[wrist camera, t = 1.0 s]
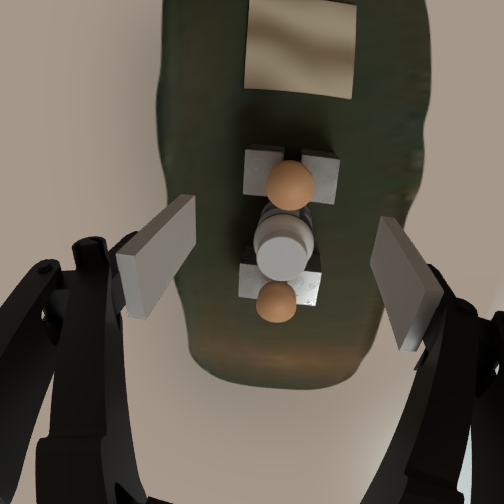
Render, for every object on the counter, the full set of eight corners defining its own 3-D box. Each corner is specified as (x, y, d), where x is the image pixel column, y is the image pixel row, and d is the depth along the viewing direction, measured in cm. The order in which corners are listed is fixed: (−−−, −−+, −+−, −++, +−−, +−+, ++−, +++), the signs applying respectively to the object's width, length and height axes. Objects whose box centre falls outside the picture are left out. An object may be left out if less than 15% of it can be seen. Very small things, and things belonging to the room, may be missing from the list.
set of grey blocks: (251, 143, 28) (245, 149, 25) (334, 152, 28) (340, 159, 24) (244, 276, 35) (238, 296, 32) (313, 284, 35) (314, 305, 31)
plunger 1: (272, 151, 26) (267, 161, 22) (313, 155, 26) (316, 166, 21) (269, 190, 28) (263, 207, 23) (308, 194, 27) (310, 213, 23)
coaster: (250, -4, 21) (249, -5, 21) (355, 6, 20) (356, 5, 20) (244, 88, 26) (244, 88, 26) (350, 99, 25) (351, 99, 25)
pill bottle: (310, 243, 32) (313, 290, 24) (261, 241, 33) (249, 288, 25) (312, 195, 30) (317, 230, 22) (260, 194, 31) (246, 228, 23)
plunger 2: (263, 260, 31) (257, 288, 27) (299, 265, 31) (298, 293, 26) (261, 290, 33) (255, 319, 28) (294, 294, 32) (293, 324, 28)
